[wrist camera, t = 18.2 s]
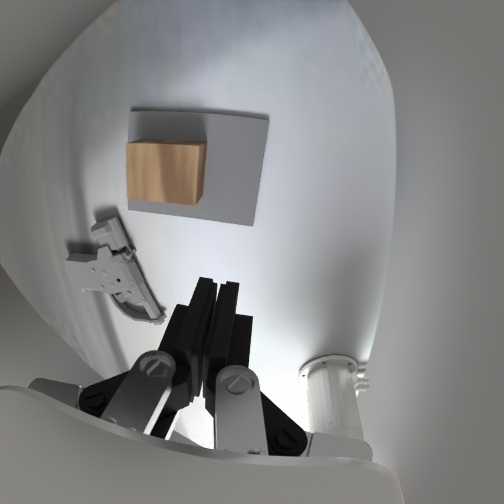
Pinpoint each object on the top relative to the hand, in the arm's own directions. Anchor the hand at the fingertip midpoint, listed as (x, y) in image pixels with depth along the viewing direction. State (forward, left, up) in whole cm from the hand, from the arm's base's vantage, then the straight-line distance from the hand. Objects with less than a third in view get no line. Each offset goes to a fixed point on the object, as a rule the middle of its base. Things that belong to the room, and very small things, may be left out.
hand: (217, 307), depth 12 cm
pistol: (+22, +21, -26) cm, 40 cm away
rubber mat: (+8, 0, -25) cm, 26 cm away
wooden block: (+6, 0, -22) cm, 23 cm away
